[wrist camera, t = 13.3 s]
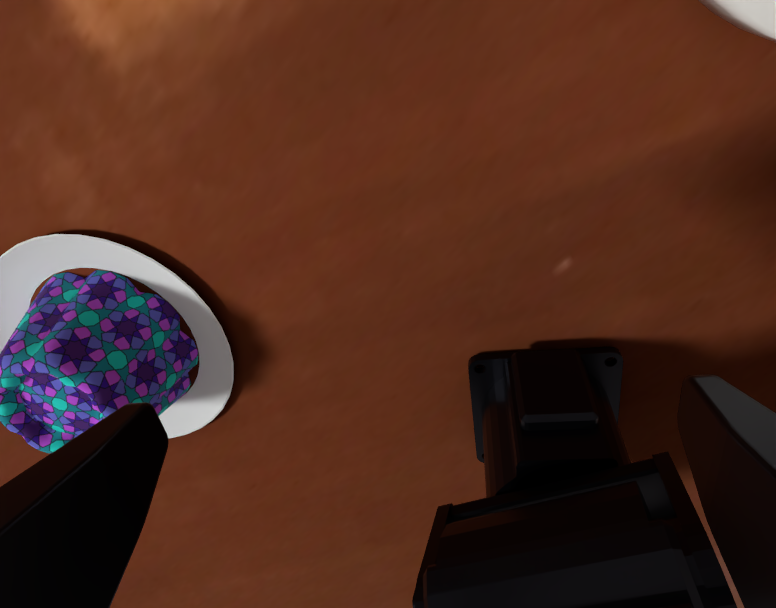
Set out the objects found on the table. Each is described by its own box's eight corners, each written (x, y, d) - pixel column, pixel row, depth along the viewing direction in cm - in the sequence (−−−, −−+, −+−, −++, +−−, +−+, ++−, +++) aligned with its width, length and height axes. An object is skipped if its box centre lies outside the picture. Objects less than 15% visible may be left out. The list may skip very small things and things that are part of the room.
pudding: (-4, 180, 23) (-114, 235, 18) (269, 293, 24) (227, 368, 20) (-9, 378, 29) (-91, 453, 25) (208, 457, 31) (167, 541, 26)
